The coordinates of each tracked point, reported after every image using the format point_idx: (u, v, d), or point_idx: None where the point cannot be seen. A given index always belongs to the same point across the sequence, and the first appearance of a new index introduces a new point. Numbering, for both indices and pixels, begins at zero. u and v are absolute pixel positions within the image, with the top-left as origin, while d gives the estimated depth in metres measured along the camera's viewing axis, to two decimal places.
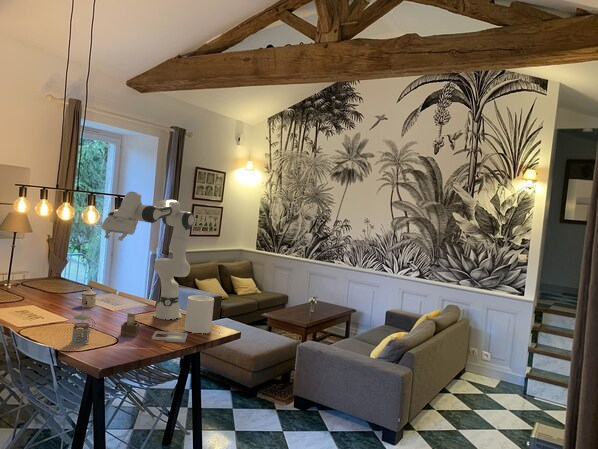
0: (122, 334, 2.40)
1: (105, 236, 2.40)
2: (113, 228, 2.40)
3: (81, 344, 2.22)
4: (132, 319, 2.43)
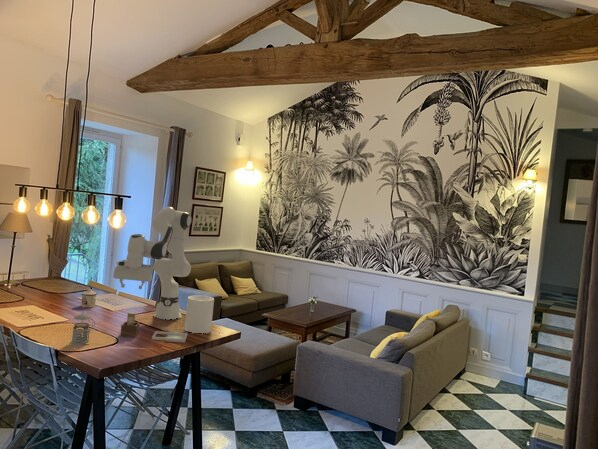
0: (122, 334, 2.40)
1: (122, 286, 2.42)
2: (129, 278, 2.41)
3: (81, 344, 2.22)
4: (132, 319, 2.43)
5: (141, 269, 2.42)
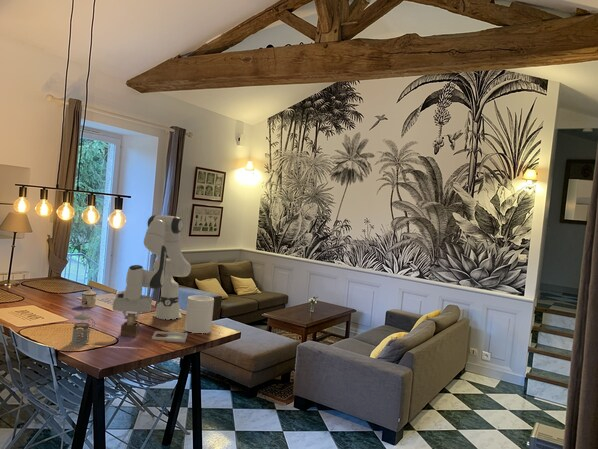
0: (122, 334, 2.40)
1: (125, 318, 2.43)
2: (128, 309, 2.42)
3: (81, 344, 2.22)
4: (132, 319, 2.43)
5: (140, 300, 2.43)
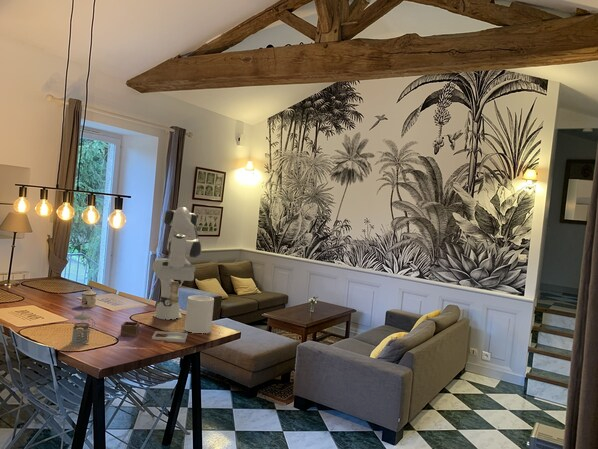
0: (122, 334, 2.40)
1: (169, 286, 2.46)
2: (172, 278, 2.45)
3: (81, 344, 2.22)
4: (176, 287, 2.46)
5: (184, 269, 2.46)
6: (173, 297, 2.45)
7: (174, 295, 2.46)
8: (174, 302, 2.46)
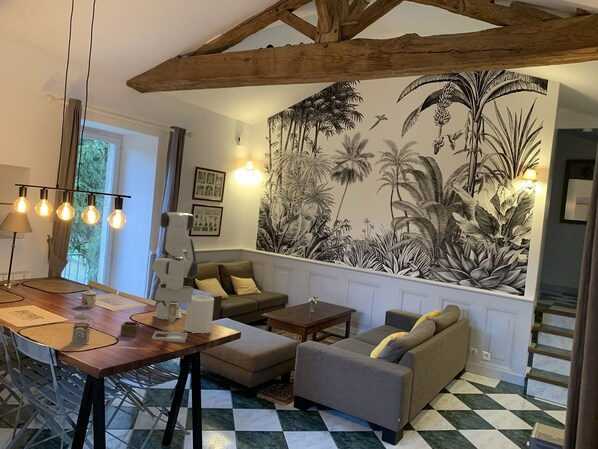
0: (122, 334, 2.40)
1: (167, 308, 2.46)
2: (170, 300, 2.46)
3: (81, 344, 2.22)
4: (174, 309, 2.46)
5: (182, 290, 2.46)
6: (171, 319, 2.46)
7: (172, 317, 2.46)
8: (172, 324, 2.46)
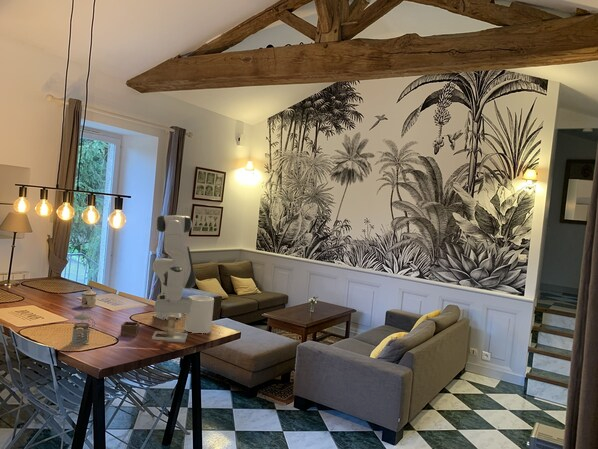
0: (122, 334, 2.40)
1: (162, 319, 2.46)
2: (169, 311, 2.46)
3: (81, 344, 2.22)
4: (173, 322, 2.46)
5: (181, 302, 2.47)
6: (170, 331, 2.46)
7: (171, 330, 2.46)
8: (171, 337, 2.47)
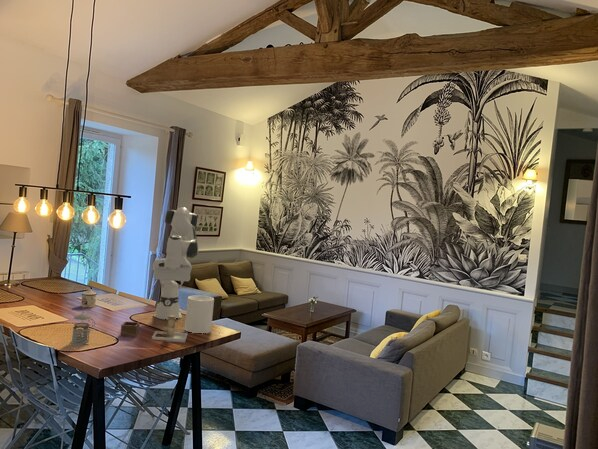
0: (122, 334, 2.40)
1: (162, 286, 2.49)
2: (169, 278, 2.48)
3: (81, 344, 2.22)
4: (173, 322, 2.46)
5: (180, 269, 2.49)
6: (170, 331, 2.46)
7: (171, 330, 2.46)
8: (171, 337, 2.47)
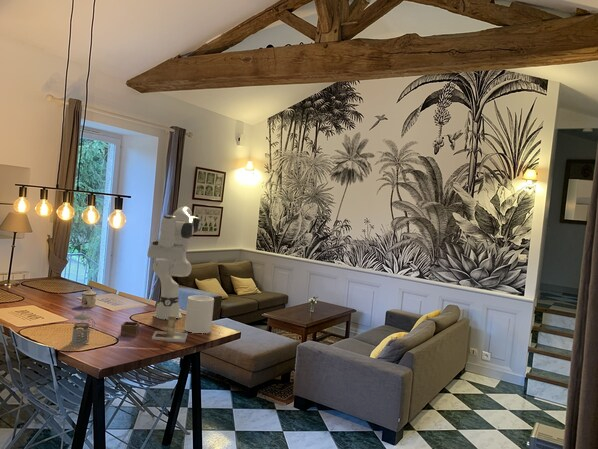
0: (122, 334, 2.40)
1: (155, 265, 2.54)
2: (162, 257, 2.54)
3: (81, 344, 2.22)
4: (173, 322, 2.46)
5: (174, 248, 2.54)
6: (170, 331, 2.46)
7: (171, 330, 2.46)
8: (171, 337, 2.47)
